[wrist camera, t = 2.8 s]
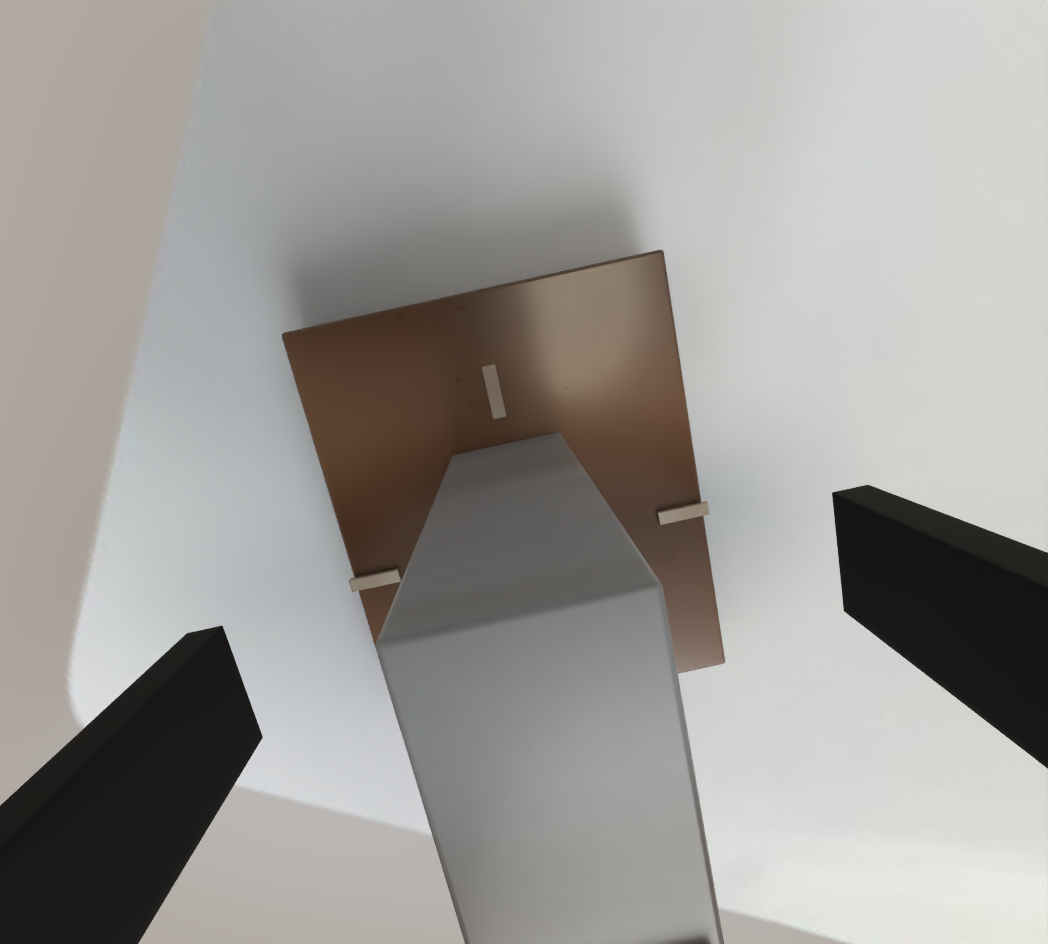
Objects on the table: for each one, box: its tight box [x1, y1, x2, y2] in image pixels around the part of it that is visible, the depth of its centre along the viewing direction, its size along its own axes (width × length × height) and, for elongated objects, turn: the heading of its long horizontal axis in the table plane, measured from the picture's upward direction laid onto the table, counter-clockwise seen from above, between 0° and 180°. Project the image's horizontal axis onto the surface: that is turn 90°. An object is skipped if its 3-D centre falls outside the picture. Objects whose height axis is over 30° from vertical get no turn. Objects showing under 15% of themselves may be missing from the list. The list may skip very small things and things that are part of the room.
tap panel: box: [282, 250, 725, 730], centre depth 17 cm, size 12×10×2 cm
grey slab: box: [376, 432, 724, 944], centre depth 11 cm, size 6×3×10 cm, turn 12°
